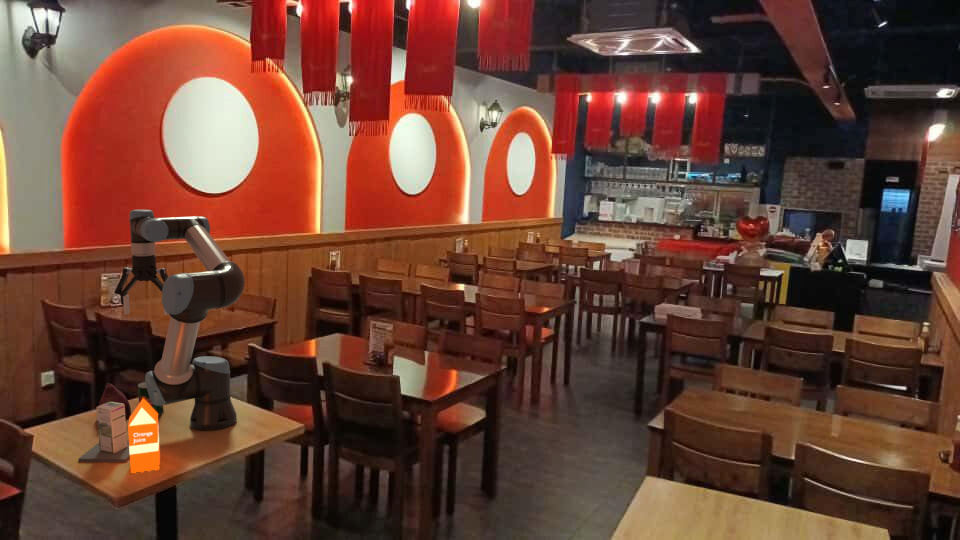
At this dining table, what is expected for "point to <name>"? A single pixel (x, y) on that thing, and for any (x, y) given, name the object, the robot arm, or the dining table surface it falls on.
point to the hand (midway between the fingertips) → (146, 314)
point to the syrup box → (111, 427)
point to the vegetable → (115, 398)
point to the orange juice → (144, 438)
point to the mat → (105, 455)
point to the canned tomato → (144, 394)
